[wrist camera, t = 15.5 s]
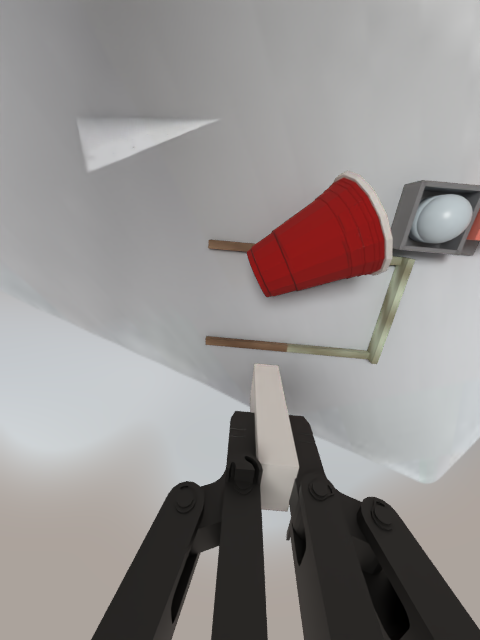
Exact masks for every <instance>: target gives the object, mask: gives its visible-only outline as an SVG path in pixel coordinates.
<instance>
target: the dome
mask: <svg viewBox="0 0 480 640" xmlns="http://www.w3.org/2000/svg"><path fill="white" fill-rule="evenodd" d="M472 213H473V211H472V206H471V204H470V202H469V201H468V200H467V199H465V198H464V197H462V196H459V195H455V194H445V195H438V196H432V197H427V198H425V199H423V200H421V201H420V203H419V206H418V209H417V212H416V215H415V218H414V221H413V224H412V227H411V230H410V233H409V237H410V238H411V239H412V240H414V241H417V242H424V243H443V242H446V241H449V240H452V239H454V238H455V237H457V236H458V235H460V234H461V233H462V232H463V231H464V230H465V229H466V228H467V227H468V225H469V223H470V221H471V219H472Z"/></svg>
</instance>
